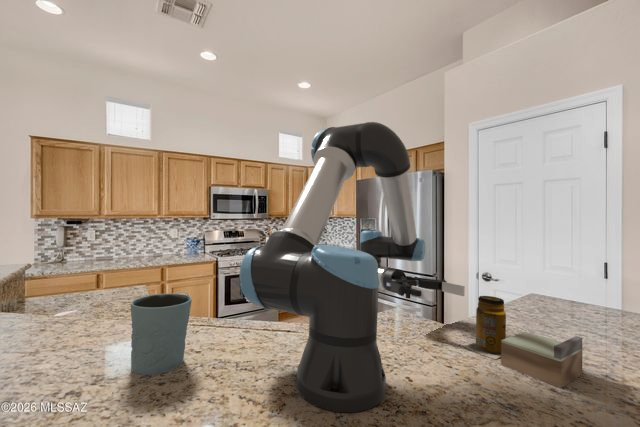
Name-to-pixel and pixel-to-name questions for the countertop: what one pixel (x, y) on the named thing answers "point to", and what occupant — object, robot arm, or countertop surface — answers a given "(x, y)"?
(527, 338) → the stand
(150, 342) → the grey textured cup
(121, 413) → the countertop surface
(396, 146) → the robot arm
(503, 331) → the condiment
